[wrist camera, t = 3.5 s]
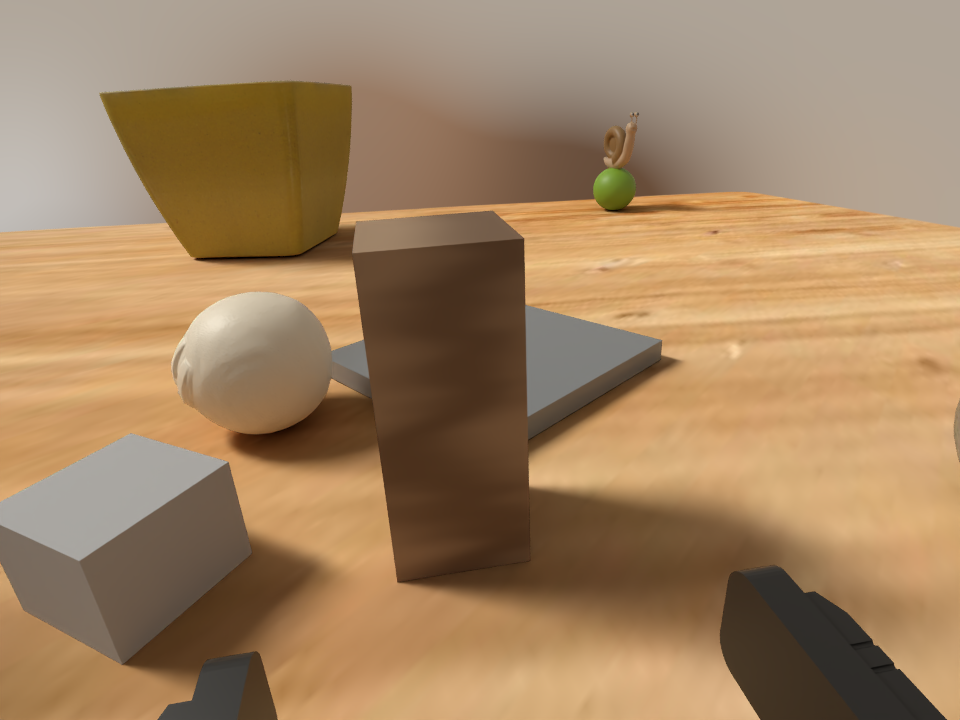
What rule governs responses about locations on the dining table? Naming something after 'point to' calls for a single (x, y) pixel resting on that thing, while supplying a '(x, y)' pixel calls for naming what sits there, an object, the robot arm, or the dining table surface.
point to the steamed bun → (254, 363)
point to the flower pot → (240, 162)
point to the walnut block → (448, 387)
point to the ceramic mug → (957, 430)
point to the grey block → (122, 541)
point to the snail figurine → (616, 168)
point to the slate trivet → (547, 364)
